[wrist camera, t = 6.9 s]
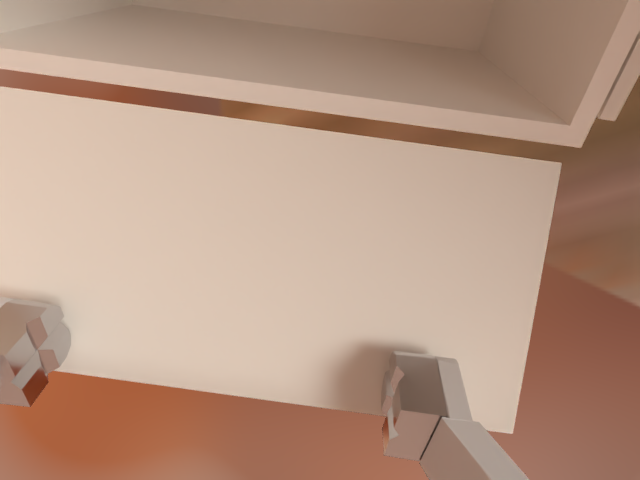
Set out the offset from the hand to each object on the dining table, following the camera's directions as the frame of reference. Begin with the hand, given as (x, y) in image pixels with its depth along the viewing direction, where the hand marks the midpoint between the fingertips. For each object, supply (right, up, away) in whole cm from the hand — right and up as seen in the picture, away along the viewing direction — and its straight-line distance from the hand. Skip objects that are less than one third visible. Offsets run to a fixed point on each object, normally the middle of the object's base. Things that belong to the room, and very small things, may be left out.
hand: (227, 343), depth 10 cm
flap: (0, +2, 0) cm, 2 cm away
